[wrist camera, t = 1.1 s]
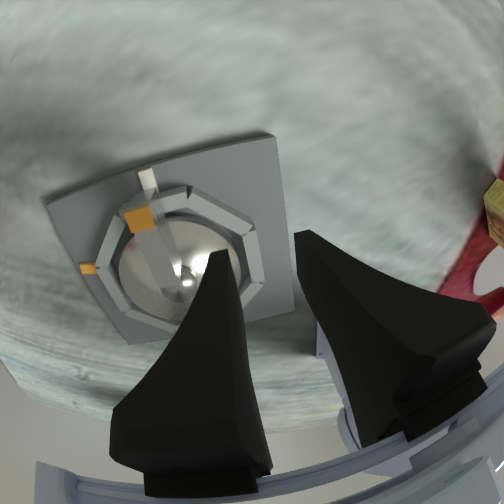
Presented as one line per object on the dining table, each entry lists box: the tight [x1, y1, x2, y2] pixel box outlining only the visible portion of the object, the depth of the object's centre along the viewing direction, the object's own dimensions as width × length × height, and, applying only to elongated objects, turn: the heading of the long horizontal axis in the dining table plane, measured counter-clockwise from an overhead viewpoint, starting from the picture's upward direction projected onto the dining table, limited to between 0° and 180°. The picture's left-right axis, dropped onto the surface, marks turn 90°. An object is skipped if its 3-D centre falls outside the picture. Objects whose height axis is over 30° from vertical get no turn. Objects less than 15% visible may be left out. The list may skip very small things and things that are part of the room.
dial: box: [119, 187, 241, 321], centre depth 18 cm, size 12×9×4 cm
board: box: [46, 135, 295, 345], centre depth 20 cm, size 16×17×2 cm
